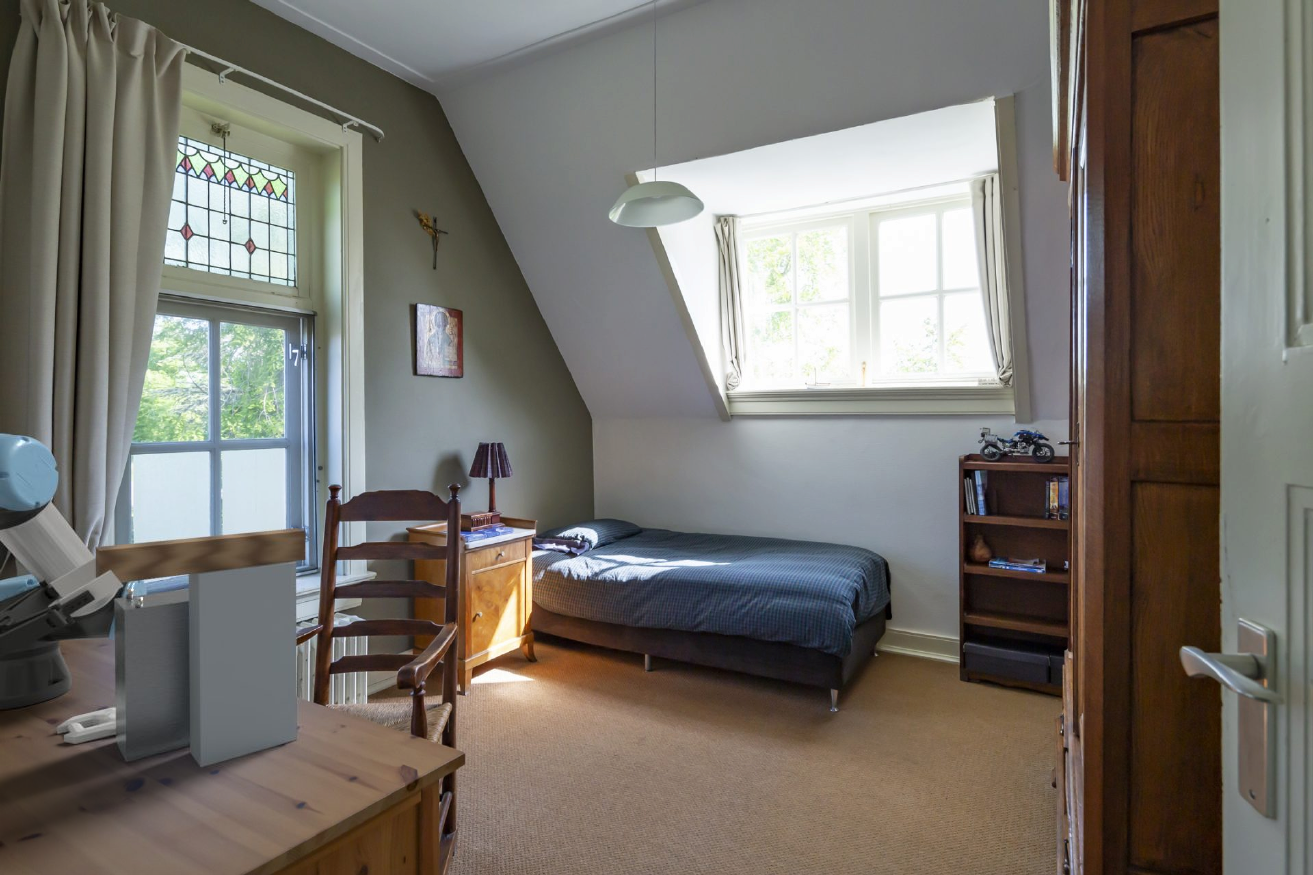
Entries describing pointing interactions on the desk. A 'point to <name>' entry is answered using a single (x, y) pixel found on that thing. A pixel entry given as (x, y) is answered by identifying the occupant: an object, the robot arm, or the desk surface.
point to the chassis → (152, 673)
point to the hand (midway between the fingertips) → (110, 570)
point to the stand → (242, 661)
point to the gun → (89, 726)
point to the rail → (200, 554)
